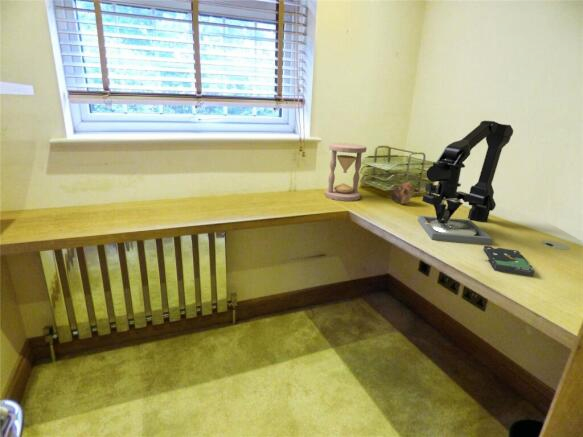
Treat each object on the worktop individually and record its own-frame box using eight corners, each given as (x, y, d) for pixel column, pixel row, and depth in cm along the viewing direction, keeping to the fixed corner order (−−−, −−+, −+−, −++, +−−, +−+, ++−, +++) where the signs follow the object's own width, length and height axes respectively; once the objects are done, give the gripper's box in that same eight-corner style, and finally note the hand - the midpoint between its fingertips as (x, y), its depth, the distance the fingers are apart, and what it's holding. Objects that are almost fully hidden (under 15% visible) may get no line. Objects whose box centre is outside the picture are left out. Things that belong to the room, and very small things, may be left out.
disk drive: (481, 253, 115) (494, 272, 102) (483, 245, 114) (496, 263, 101) (515, 258, 113) (533, 278, 99) (518, 250, 112) (536, 269, 98)
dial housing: (468, 227, 138) (470, 219, 137) (490, 246, 119) (493, 238, 118) (417, 222, 140) (418, 215, 139) (431, 241, 121) (433, 232, 120)
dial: (485, 239, 124) (490, 221, 121) (446, 241, 120) (450, 222, 118) (455, 224, 138) (459, 207, 136) (420, 225, 135) (423, 207, 132)
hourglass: (355, 192, 181) (361, 144, 173) (364, 202, 164) (371, 148, 156) (322, 191, 180) (326, 142, 171) (327, 200, 163) (332, 146, 155)
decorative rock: (412, 206, 163) (416, 183, 159) (401, 206, 161) (405, 183, 157) (398, 199, 173) (402, 178, 170) (388, 199, 172) (391, 178, 168)
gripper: (452, 174, 139) (445, 211, 144) (415, 176, 132) (409, 215, 137) (475, 180, 129) (467, 219, 134) (437, 182, 122) (429, 224, 127)
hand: (442, 219), depth 133 cm, fingers open, 4 cm apart
